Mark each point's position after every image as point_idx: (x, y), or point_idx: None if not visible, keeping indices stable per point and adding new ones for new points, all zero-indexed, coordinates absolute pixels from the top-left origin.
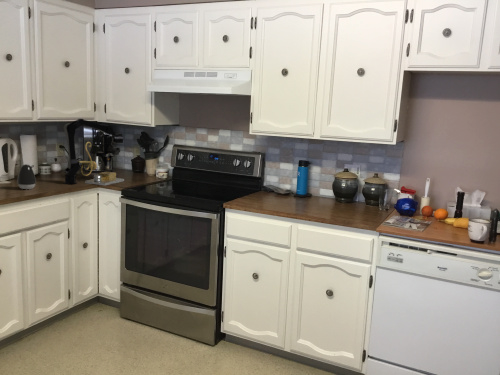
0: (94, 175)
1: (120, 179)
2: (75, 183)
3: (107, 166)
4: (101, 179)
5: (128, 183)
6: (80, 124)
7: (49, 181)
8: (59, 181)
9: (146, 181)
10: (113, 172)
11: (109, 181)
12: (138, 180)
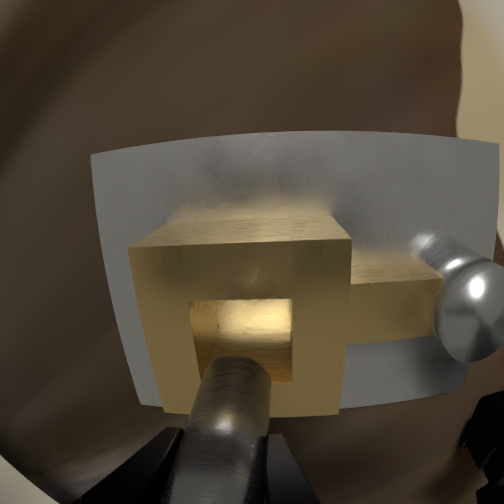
0: (491, 347)
1: (152, 153)
2: (501, 391)
3: (259, 419)
4: (428, 270)
5: (210, 4)
6: None
7: (453, 499)
8: (441, 486)
9: (25, 4)
10: (137, 296)
11: (385, 165)
12: (13, 82)
